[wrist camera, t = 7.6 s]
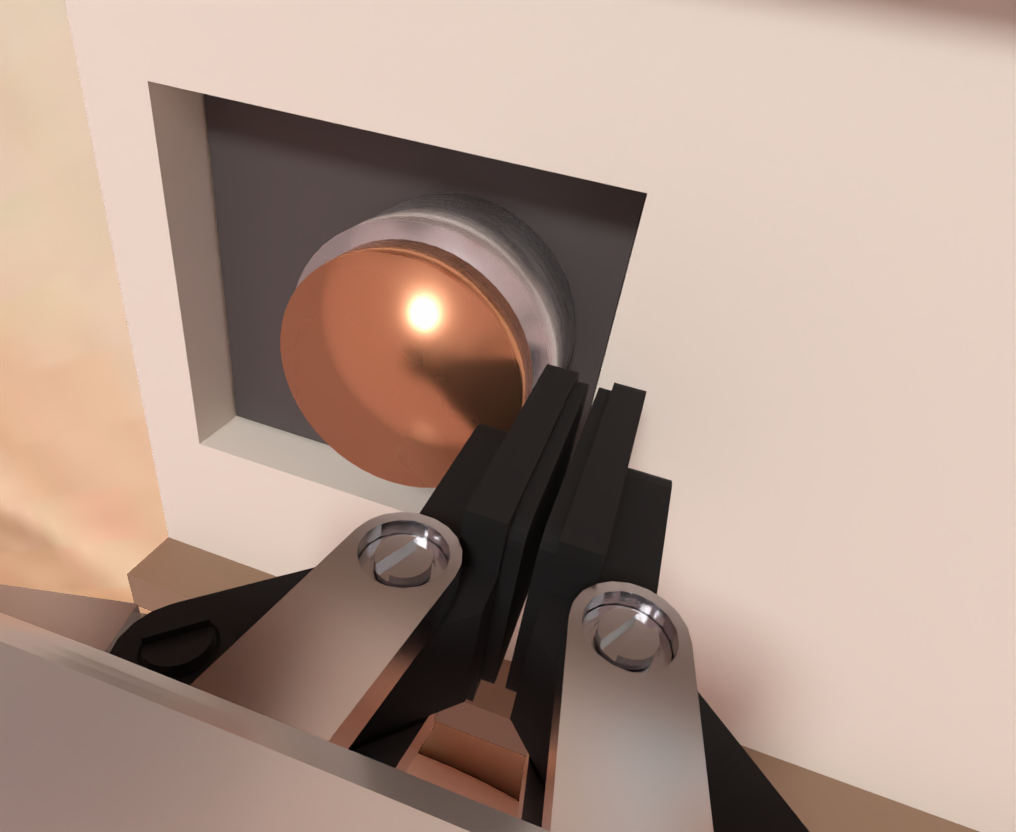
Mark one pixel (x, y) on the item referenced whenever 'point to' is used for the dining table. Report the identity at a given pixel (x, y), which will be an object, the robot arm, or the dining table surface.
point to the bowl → (462, 784)
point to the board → (630, 325)
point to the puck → (424, 332)
